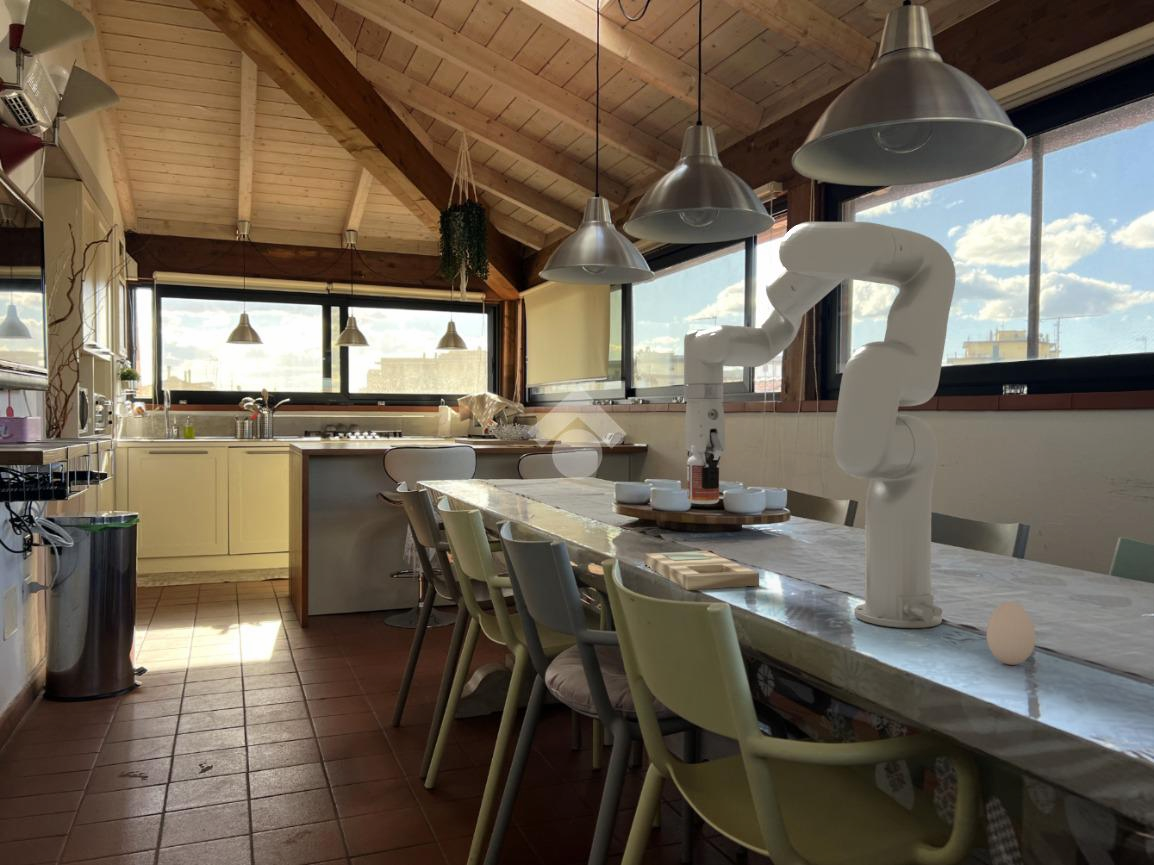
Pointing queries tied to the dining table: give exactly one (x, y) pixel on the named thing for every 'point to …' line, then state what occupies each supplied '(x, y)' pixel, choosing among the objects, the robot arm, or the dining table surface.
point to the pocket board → (700, 570)
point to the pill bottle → (698, 481)
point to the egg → (1010, 633)
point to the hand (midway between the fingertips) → (703, 485)
